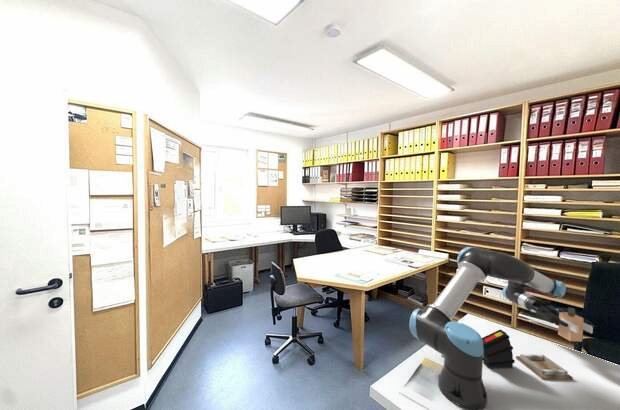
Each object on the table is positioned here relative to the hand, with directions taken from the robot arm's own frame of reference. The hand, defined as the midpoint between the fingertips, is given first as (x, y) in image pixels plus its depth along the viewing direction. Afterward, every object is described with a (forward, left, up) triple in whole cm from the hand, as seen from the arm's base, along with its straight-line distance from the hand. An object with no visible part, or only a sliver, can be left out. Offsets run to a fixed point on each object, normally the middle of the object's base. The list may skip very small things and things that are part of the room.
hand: (584, 329), depth 98 cm
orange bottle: (0, +5, -7) cm, 8 cm away
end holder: (-15, +1, -18) cm, 23 cm away
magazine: (-34, +2, -18) cm, 38 cm away
